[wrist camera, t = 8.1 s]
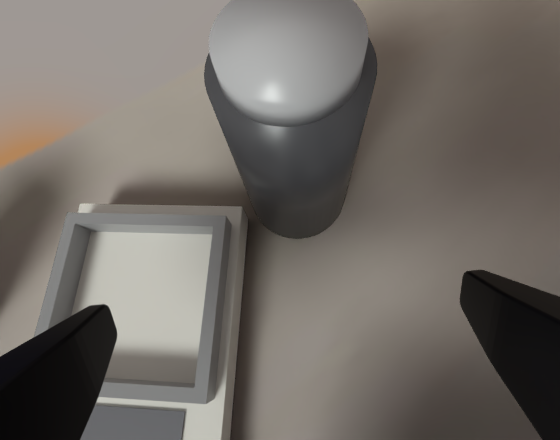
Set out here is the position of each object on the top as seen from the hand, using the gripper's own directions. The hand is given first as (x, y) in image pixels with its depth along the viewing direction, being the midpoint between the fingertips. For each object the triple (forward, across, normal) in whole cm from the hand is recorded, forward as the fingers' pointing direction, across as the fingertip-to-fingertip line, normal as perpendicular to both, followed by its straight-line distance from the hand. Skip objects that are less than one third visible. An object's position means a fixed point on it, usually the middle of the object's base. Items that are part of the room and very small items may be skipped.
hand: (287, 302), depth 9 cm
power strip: (+5, +7, +7) cm, 10 cm away
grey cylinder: (+10, -1, 0) cm, 10 cm away
